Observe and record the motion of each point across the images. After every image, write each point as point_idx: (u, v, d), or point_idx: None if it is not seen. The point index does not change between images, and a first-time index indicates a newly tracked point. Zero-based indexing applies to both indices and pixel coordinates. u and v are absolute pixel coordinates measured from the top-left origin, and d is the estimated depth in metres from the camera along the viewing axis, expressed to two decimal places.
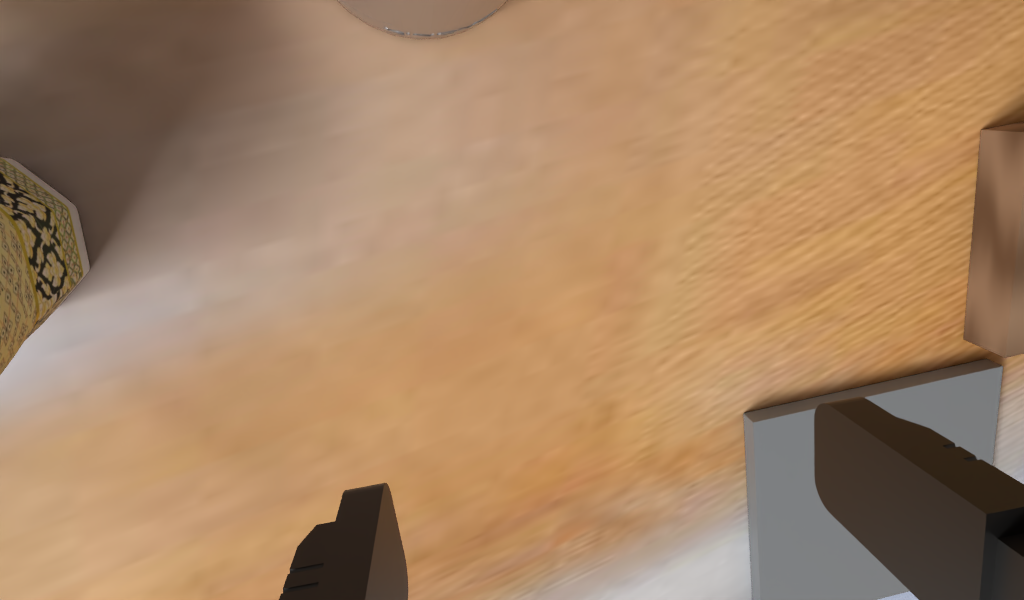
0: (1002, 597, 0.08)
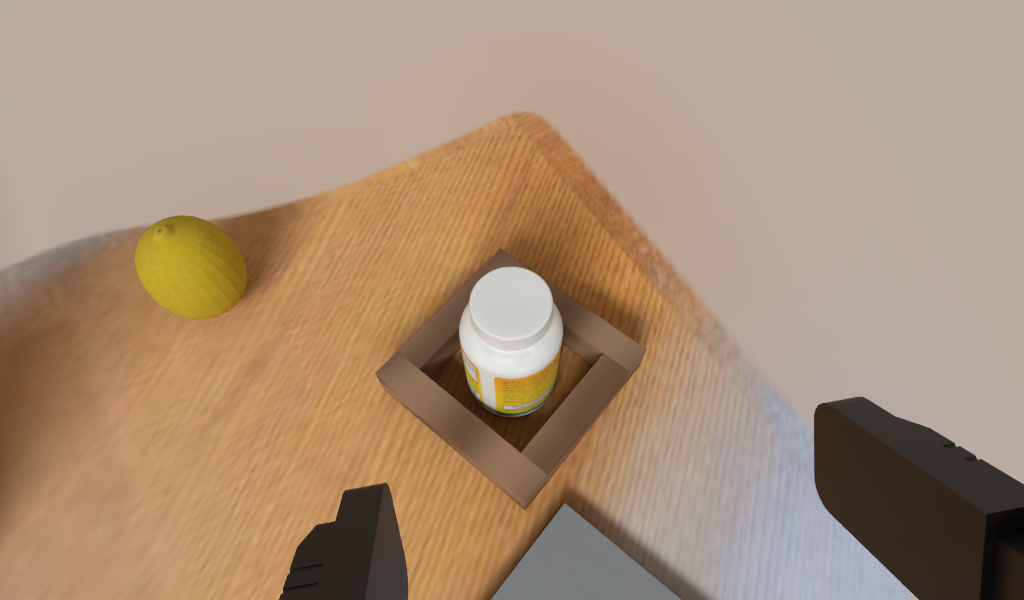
0: (1002, 597, 0.08)
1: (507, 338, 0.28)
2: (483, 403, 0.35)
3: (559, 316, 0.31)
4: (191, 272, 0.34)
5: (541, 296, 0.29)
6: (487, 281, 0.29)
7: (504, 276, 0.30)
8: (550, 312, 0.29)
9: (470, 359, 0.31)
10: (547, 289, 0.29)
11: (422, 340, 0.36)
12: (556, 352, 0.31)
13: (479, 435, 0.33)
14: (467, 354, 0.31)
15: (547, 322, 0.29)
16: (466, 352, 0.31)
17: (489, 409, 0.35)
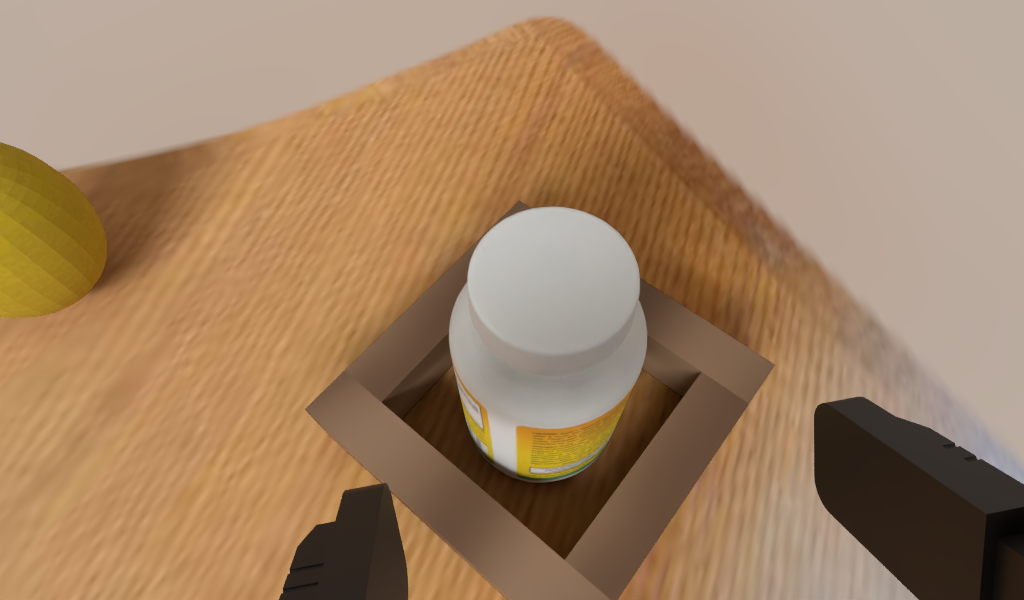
0: (1002, 597, 0.08)
1: (549, 351, 0.13)
2: (493, 460, 0.20)
3: (640, 307, 0.16)
4: None
5: (614, 263, 0.14)
6: (504, 235, 0.15)
7: (538, 225, 0.15)
8: (636, 296, 0.14)
9: (470, 390, 0.16)
10: (627, 249, 0.14)
11: (388, 351, 0.21)
12: (637, 376, 0.16)
13: (487, 525, 0.18)
14: (464, 381, 0.16)
15: (631, 317, 0.14)
16: (462, 377, 0.16)
17: (504, 470, 0.20)
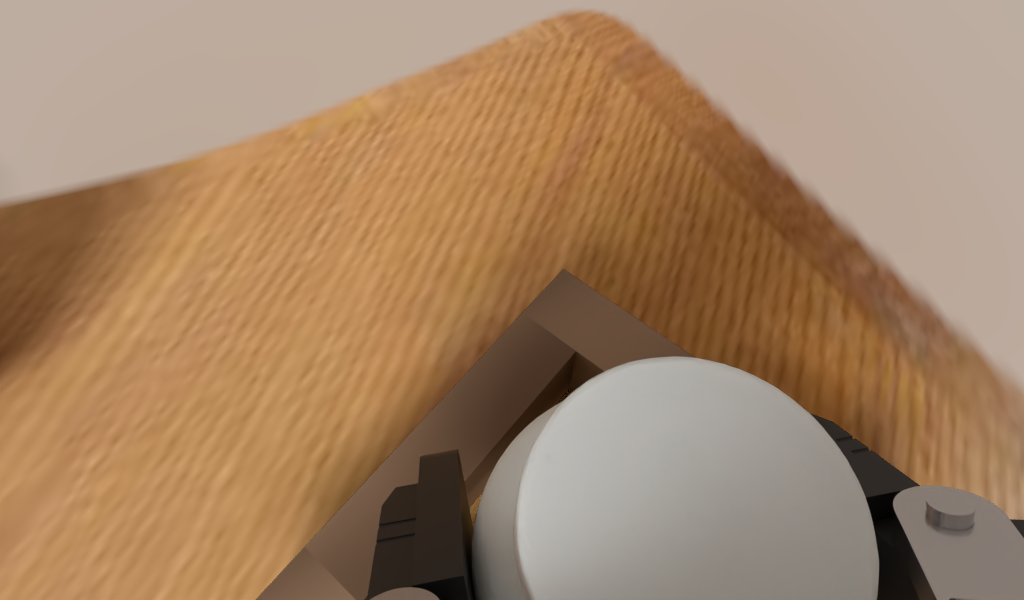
0: None
1: None
2: None
3: None
4: None
5: (818, 492, 0.07)
6: (585, 420, 0.07)
7: (651, 399, 0.07)
8: (876, 574, 0.07)
9: None
10: (838, 459, 0.07)
11: (372, 513, 0.14)
12: None
13: None
14: None
15: None
16: None
17: None
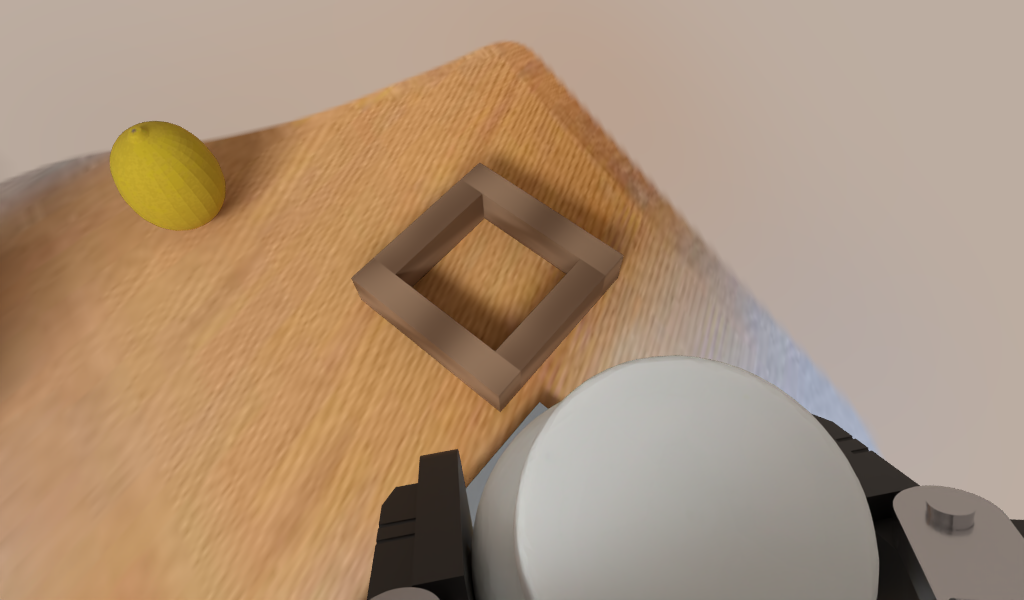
0: None
1: None
2: None
3: None
4: (166, 174, 0.34)
5: (818, 491, 0.07)
6: (585, 419, 0.07)
7: (651, 398, 0.07)
8: (876, 574, 0.07)
9: None
10: (838, 458, 0.07)
11: (399, 247, 0.36)
12: None
13: (454, 335, 0.33)
14: None
15: None
16: None
17: None
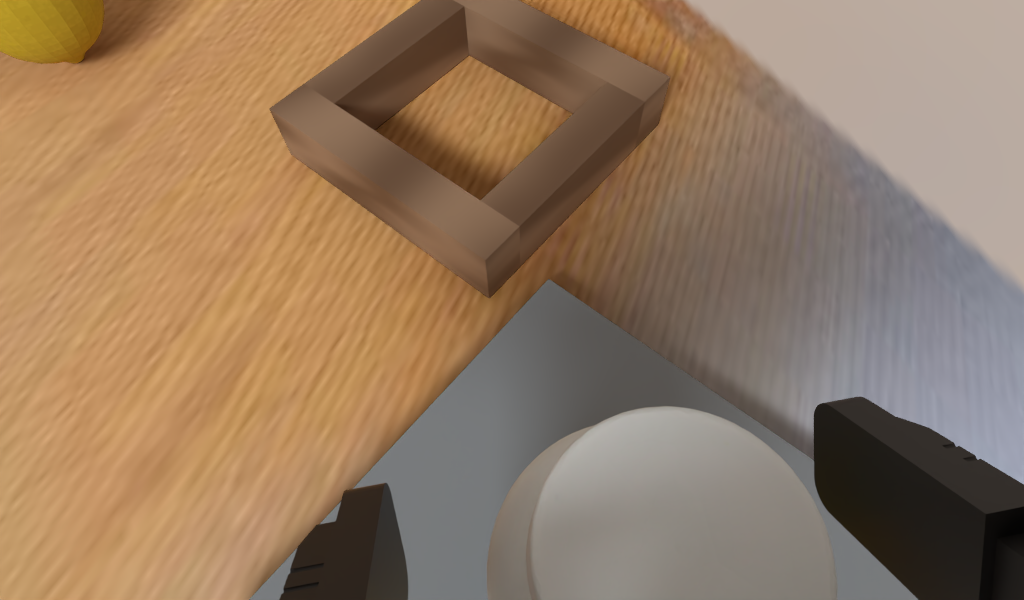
0: (1001, 597, 0.08)
1: None
2: None
3: None
4: None
5: (787, 526, 0.08)
6: (588, 464, 0.09)
7: (645, 444, 0.09)
8: (835, 598, 0.08)
9: None
10: (804, 497, 0.08)
11: (342, 71, 0.24)
12: None
13: (418, 179, 0.22)
14: None
15: None
16: None
17: None
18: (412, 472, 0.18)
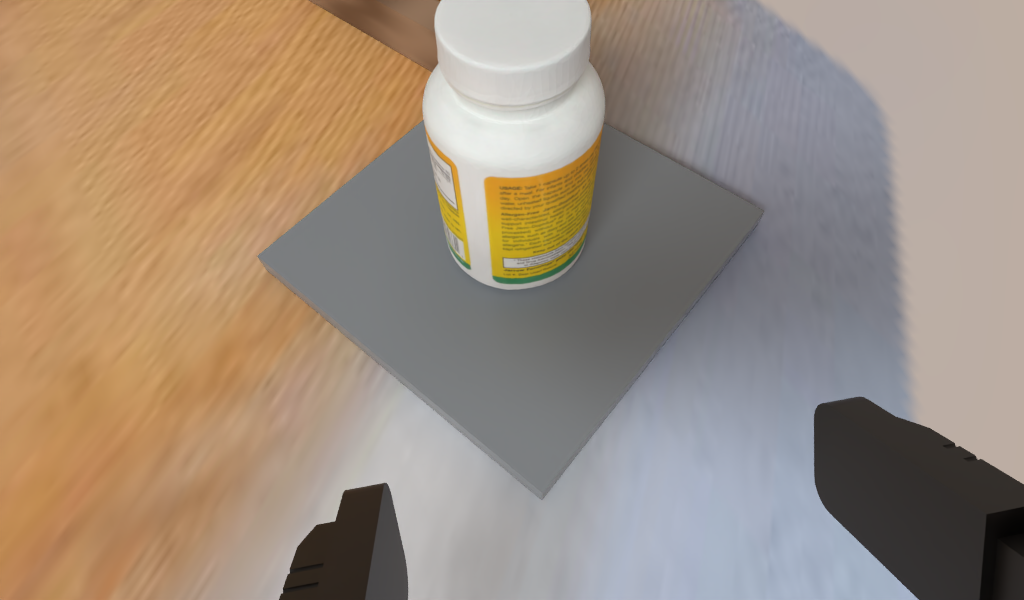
0: (1002, 597, 0.08)
1: (507, 67, 0.14)
2: (470, 263, 0.22)
3: (598, 77, 0.18)
4: None
5: (568, 5, 0.16)
6: None
7: None
8: (587, 28, 0.15)
9: (441, 147, 0.17)
10: None
11: None
12: (595, 134, 0.17)
13: None
14: (436, 139, 0.17)
15: (582, 45, 0.15)
16: (434, 135, 0.17)
17: (480, 274, 0.22)
18: (390, 172, 0.26)
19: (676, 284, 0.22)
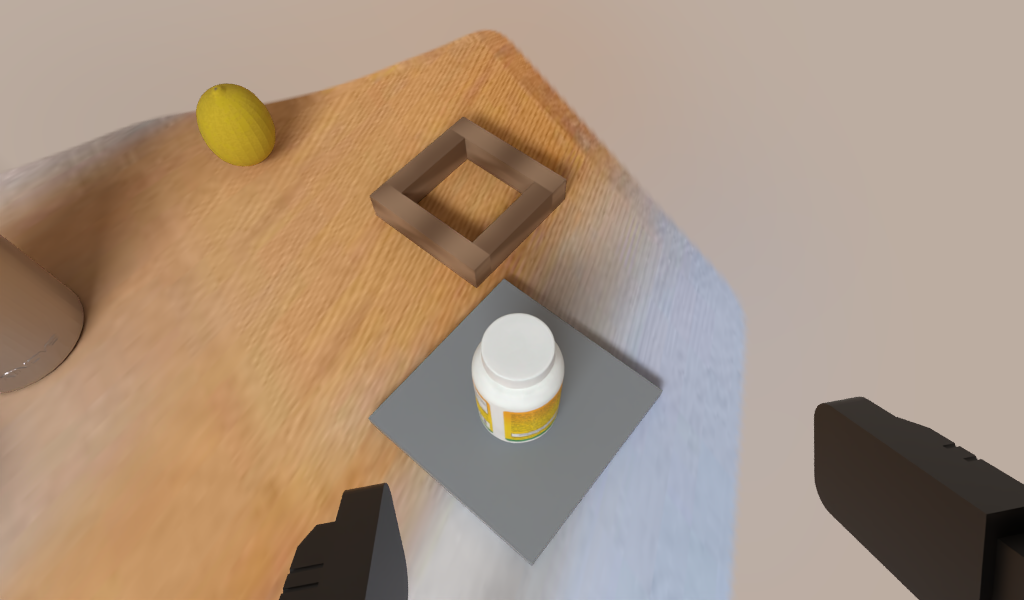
0: (1002, 597, 0.08)
1: (515, 379, 0.32)
2: (493, 431, 0.39)
3: (560, 355, 0.35)
4: (237, 120, 0.47)
5: (544, 340, 0.33)
6: (496, 327, 0.33)
7: (511, 322, 0.33)
8: (553, 355, 0.32)
9: (482, 395, 0.34)
10: (550, 333, 0.33)
11: (403, 175, 0.49)
12: (558, 388, 0.34)
13: (443, 232, 0.46)
14: (479, 391, 0.34)
15: (550, 364, 0.32)
16: (478, 389, 0.34)
17: (498, 436, 0.39)
18: (442, 360, 0.43)
19: (608, 439, 0.40)
